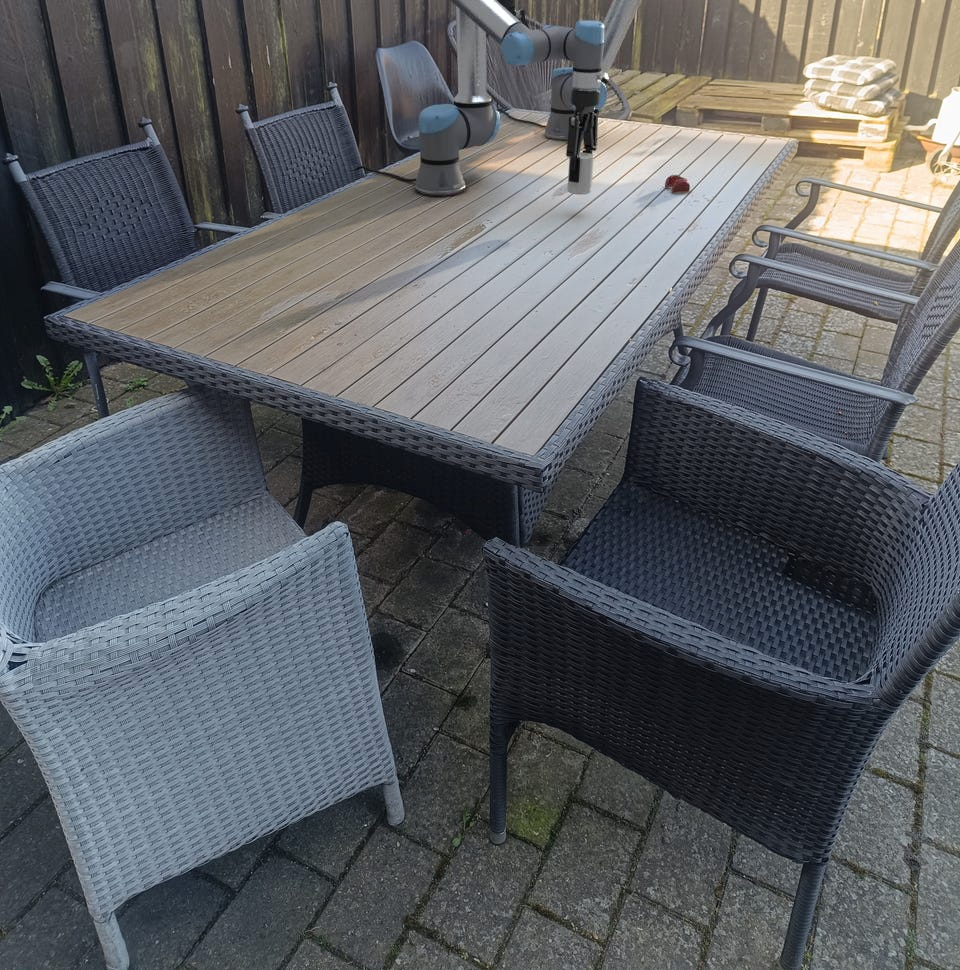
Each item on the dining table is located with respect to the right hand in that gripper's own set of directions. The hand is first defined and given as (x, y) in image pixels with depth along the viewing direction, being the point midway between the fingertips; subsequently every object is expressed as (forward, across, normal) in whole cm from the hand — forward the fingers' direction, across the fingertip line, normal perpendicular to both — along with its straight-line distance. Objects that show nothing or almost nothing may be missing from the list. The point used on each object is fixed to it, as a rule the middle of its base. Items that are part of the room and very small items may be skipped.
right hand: (502, 66), depth 279 cm
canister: (+21, +5, -71) cm, 74 cm away
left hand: (+17, +5, -71) cm, 73 cm away
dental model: (+27, +42, -55) cm, 75 cm away
